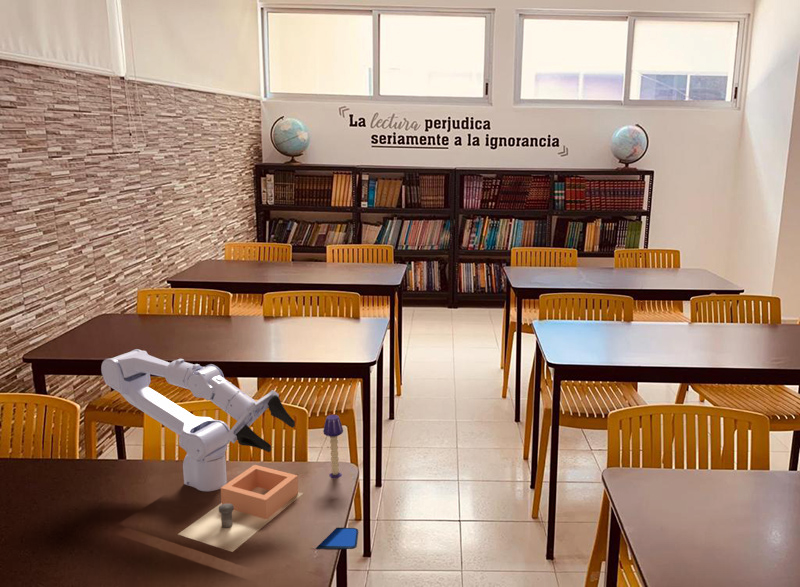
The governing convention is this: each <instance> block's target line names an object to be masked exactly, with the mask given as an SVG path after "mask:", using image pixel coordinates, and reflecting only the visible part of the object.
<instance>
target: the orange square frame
mask: <svg viewBox="0 0 800 587" xmlns="http://www.w3.org/2000/svg"><path fill="white" fill-rule="evenodd" d="M298 482H299V477H298V475H297V474H293V473H290V472H285V471H282V470H278V469H275V468H269V467H265V466H261V465H257V464H253V465H251V466H250V467H249V468H247V469H246V470H245V471H243V472H242V473H240V474H239V475H237V476H236V477H234V478H233V479H231V480H230V481H227V483H226V484H225V485H224V486H222V487H221V488H220V497H221V498H220V499H221V503H222V504H227V503H228V504H232V505H233V506H234V510H236V511H240V512H243V513H246V514H250V515H253V516H257V517H260V518H264V519H268V518H269V517H270V516H271V515H272V514H274V513H275V512H276V511H277V510H279V509H280V508H281V507H282V506H283V505H285V504H286V503H287V502H288V501H290V500H291V499H292V498H293V497H294V496H296V495H297V494H298V492H299V483H298ZM256 487H260V488H263V489H267V490H270V491H269V492H267V493H266V494H265V495H262V494H259V493H255V492H251V491H252V490H253V489H254V488H256Z"/></svg>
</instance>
